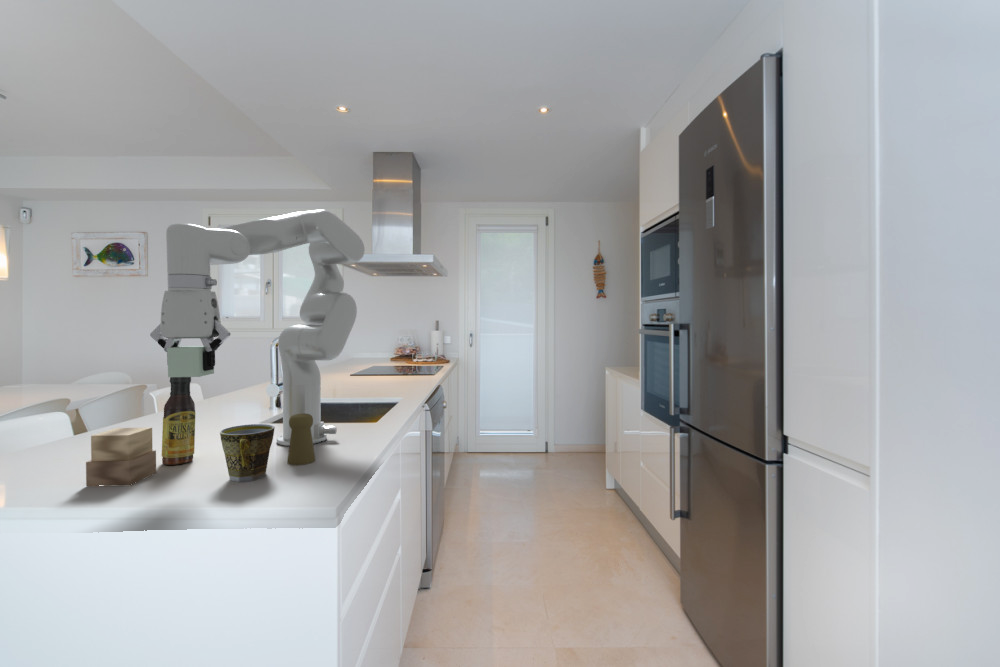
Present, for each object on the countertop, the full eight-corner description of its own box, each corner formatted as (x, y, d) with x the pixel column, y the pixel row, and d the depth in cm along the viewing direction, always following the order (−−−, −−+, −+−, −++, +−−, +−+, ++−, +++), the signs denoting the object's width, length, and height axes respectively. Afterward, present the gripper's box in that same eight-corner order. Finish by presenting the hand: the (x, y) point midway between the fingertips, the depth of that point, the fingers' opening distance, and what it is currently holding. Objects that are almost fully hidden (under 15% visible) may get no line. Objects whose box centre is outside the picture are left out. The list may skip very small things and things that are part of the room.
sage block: (214, 373, 102) (213, 345, 102) (199, 376, 96) (198, 347, 96) (184, 373, 102) (184, 346, 102) (168, 377, 96) (167, 347, 96)
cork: (320, 458, 112) (319, 411, 112) (307, 465, 106) (306, 416, 106) (295, 457, 112) (295, 411, 112) (281, 464, 106) (281, 416, 106)
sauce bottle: (167, 468, 104) (166, 378, 103) (157, 463, 107) (156, 376, 107) (200, 461, 109) (199, 375, 109) (189, 456, 113) (189, 373, 112)
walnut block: (156, 473, 100) (155, 450, 100) (129, 486, 92) (129, 461, 92) (116, 474, 100) (116, 451, 100) (86, 487, 92) (85, 462, 92)
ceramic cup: (225, 472, 101) (225, 425, 101) (276, 467, 104) (276, 422, 104) (212, 492, 89) (212, 439, 88) (271, 486, 92) (270, 435, 92)
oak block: (152, 451, 100) (152, 427, 100) (128, 460, 93) (128, 435, 93) (117, 451, 99) (117, 428, 99) (91, 461, 92) (91, 435, 92)
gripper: (240, 286, 103) (242, 367, 104) (156, 285, 101) (159, 369, 102) (224, 283, 96) (226, 371, 96) (133, 283, 94) (136, 373, 95)
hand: (191, 369), depth 99 cm, fingers closed on sage block, 6 cm apart
